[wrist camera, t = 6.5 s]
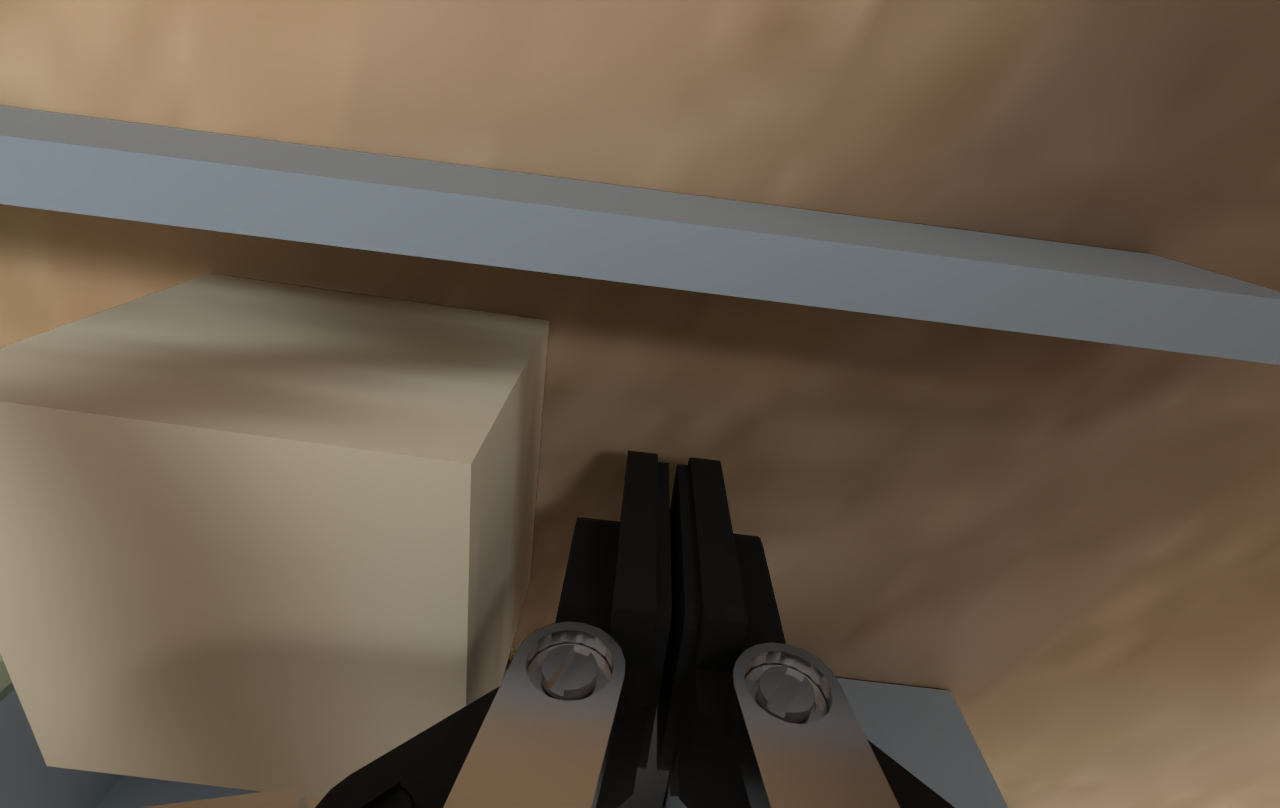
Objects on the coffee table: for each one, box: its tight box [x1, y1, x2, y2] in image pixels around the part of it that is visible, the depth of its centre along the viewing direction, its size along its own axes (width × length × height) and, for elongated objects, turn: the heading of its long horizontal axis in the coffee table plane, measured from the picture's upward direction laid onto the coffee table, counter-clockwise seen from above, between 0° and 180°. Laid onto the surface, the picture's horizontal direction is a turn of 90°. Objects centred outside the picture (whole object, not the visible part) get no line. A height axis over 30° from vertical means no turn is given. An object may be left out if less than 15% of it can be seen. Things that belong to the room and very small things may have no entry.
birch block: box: [0, 273, 550, 796], centre depth 10 cm, size 6×6×5 cm
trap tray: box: [0, 105, 1280, 808], centre depth 12 cm, size 28×17×3 cm, turn 83°
